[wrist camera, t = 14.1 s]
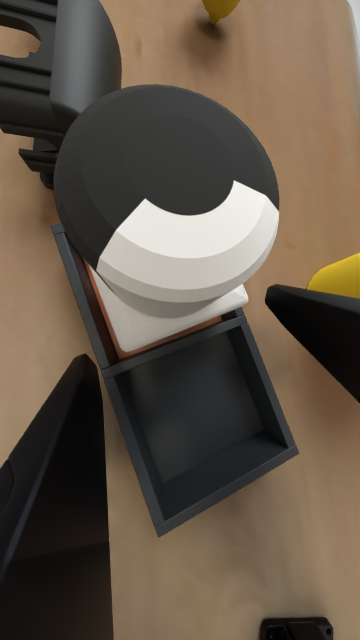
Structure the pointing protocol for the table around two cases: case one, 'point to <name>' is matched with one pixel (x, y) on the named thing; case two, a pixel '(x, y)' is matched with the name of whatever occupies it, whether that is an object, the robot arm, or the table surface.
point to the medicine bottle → (165, 207)
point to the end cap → (55, 73)
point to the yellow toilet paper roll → (339, 278)
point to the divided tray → (186, 404)
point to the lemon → (219, 8)
